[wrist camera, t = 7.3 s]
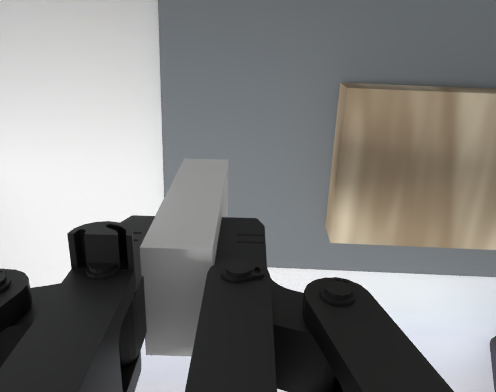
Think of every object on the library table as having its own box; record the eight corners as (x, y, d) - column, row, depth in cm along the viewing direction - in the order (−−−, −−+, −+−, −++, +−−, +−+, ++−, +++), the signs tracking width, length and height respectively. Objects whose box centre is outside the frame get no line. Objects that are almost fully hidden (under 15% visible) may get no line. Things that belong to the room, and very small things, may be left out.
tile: (330, 242, 21) (549, 252, 21) (347, 88, 19) (595, 97, 19) (324, 225, 23) (526, 233, 23) (339, 82, 21) (565, 90, 20)
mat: (168, 258, 24) (166, 262, 24) (152, -282, 17) (149, -291, 16) (547, 274, 24) (553, 279, 24) (710, -264, 16) (723, -273, 16)
